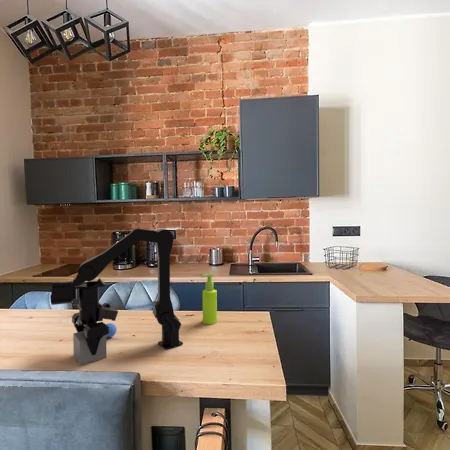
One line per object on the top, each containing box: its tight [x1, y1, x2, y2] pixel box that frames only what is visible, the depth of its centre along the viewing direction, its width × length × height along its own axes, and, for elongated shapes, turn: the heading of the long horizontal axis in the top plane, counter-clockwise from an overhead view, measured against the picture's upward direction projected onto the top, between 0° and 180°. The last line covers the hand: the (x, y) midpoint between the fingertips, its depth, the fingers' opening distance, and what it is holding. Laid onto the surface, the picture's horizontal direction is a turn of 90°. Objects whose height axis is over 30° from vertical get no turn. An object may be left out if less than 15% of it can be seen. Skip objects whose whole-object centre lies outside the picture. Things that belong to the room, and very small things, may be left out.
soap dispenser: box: [199, 273, 218, 325], centre depth 126 cm, size 6×7×20 cm
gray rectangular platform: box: [72, 331, 108, 366], centre depth 95 cm, size 8×8×7 cm
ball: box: [105, 322, 118, 339], centre depth 111 cm, size 5×5×5 cm
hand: (90, 350), depth 95 cm, fingers closed on gray rectangular platform, 8 cm apart
